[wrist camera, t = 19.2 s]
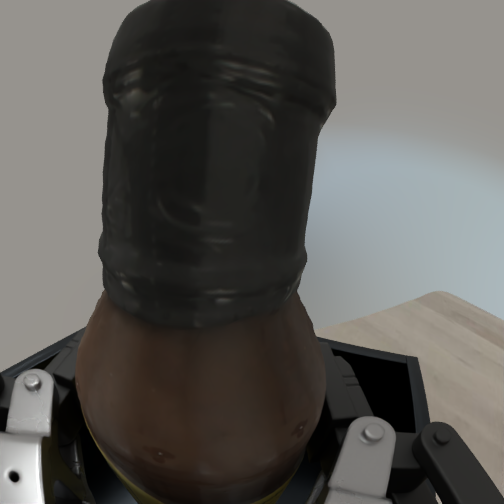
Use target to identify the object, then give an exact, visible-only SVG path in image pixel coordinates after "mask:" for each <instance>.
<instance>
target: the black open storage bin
mask: <svg viewBox="0 0 504 504" xmlns="http://www.w3.org/2000/svg"><path fill="white" fill-rule="evenodd" d="M86 327H87V326H86ZM86 327H84V328H86ZM84 328H82V329H81V330H83V329H84ZM81 330H79V331H81ZM79 331H77V332H75V333H73V334H71V335H69V336H67V337H66V338H64V339H62V340H60V341H58V342H56V343H54V344H52V345H50V346H49V347H47V348H45V349H43V350H41V351H39V352H37V353H36V354H34V355H32V356H30V357H28V358H26V359H25V360H23V361H21V362H19V363H17V364H15V365H13V366H12V367H10V368H8V369H6V370H4V371H2V372H1V375H2V376H6V377H12V378H17V377H18V376H19V375H20V374H22V373H23V372H25V371H27V370H31V369H40V370H44V369H45V368H46V367H47V366H48V365H49V364H50V362H51V361H52V360H53V359H54V358H55V357H56V356H57V355H58V354H59V352H60V351H61V350H62V349H63V348H64V347H65V348H66V345H67V344H68V343H69V342H70V341H72V338H73V337H74V336H75V335H76V334H77V333H78V332H79ZM317 339H318V341H319V342H327V343H328V344H329V346H330V348H331V350H332V353H333V355H334V356H341V357H342V358H343V359H344V360H345V361H346V362H348V363H349V364H350V365H351V368H352V370H353V372H354V374H355V377H356V378H357V380H358V382H359V386H360V387H361V389H362V391H363V393H364V395H365V397H366V400H367V402H368V404H369V406H370V408H371V411H372V413H373V415H374V417H377V418H380V419H383V420H385V421H386V422H388V423H389V424H390V425H391V426H392V428H393V429H394V431H395V432H401V433H420V432H421V431H422V430H423V428H424V427H425V426H426V425H427V424H429V423H430V417H429V411H428V405H427V399H426V394H425V389H424V384H423V379H422V374H421V370H420V366H419V362H418V358H417V357H413V356H407V355H406V356H405V355H401V354H395V353H390V352H385V351H380V350H375V349H370V348H365V347H360V346H355V345H351V344H346V343H342V342H337V341H333V340H329V339H324V338H320V337H317ZM78 433H79V435H80V438H81V446H82V455H83V462H84V469H85V475H86V480H87V484H88V487H89V489H90V491H91V493H92V495H93V497H94V499H95V502H96V504H138V503H137V502H136V501H135V500H134V498H133V497H132V495H131V494H130V493H129V492H128V490H127V489H126V488H125V486H124V485H123V484H122V482H121V481H120V480H119V478H118V477H117V475H116V474H115V473H114V472H113V470H112V469H111V468H110V467H109V465H108V463H107V461H106V459H105V458H104V456H103V454H102V453H101V451H100V450H99V448H98V447H97V445H96V443H95V441H94V439H93V437H92V436H91V434H90V431H89V429H87V428H85V427H81V429H80V431H79V432H78ZM321 470H322V468H321V463H320V462H314V463H309V459H308V454H307V448H306V450H305V454H304V457H303V459H302V461H301V463H300V465H299V467H298V469H297V471H296V472H295V474H294V476H293V477H292V479H291V481H290V482H289V484H288V485H287V487H286V488H285V490H284V491H283V493H282V494H281V496H280V497H279V499H278V500H277V502H276V503H275V504H305V502H306V500H307V498H308V496H309V494H310V492H311V490H312V488H313V486H314V484H315V481H316V479H317V477H318V475H319V473H320V472H321ZM426 483H427V485H428V486H429V488H430V490H431V492H432V493H433V495H434V497H435V499H436V491H435V489H434V488H433V486H432V484H431V482H430V481H429V479H427V480H426Z"/></svg>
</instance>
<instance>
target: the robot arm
mask: <svg viewBox="0 0 504 504" xmlns="http://www.w3.org/2000/svg"><path fill="white" fill-rule="evenodd" d="M85 330H86V328H84V329H83V330H81V331H79V332H78V333H77V334H76V335H75V336H74V337H73V338H72V341H70V342H69V343H68V344H67V345H66V348H65V347H64V348H63V349H62V350H61V351H60V352H59V354H58V355H57V356H56V357H55V358H54V359H53V360H52V361H51V362H50V364H49V365H48V366H47V367H46V368H45V369H44V370H40V369H31V370H27V371H25V372H23V373H22V374H20V375H19V376H18V377H17V378H12V377H6V376H2V375H1V373H0V504H96V502H95V499H94V497H93V495H92V493H91V491H90V489H89V487H88V484H87V480H86V475H85V469H84V462H83V455H82V446H81V438H80V435H79V433H78V432H79V431H80V429H81V427H85V428H87V429H88V427H87V424H86V422H85V419H84V416H83V412H82V408H81V404H80V400H79V397H78V393H77V388H76V379H75V366H76V360H77V352H78V347H79V344H80V342H81V338H82V337H83V335H84V333H85ZM319 343H320V347H321V352H322V355H323V359H324V363H325V371H326V391H325V399H324V404H323V408H322V412H321V416H320V419H319V422H318V424H317V426H316V428H315V430H314V432H313V433H312V436H311V438H310V439H309V441H308V443H307V446H306V448H307V454H308V459H309V463H314V462H320V463H321V468H322V470H321V472H320V473H319V475H318V477H317V479H316V481H315V484H314V486H313V488H312V490H311V492H310V494H309V496H308V498H307V500H306V502H305V504H438V502H437V500H436V499H435V497H434V495H433V493H432V492H431V490H430V488H429V486H428V485H427V483H426V480H427V479H429V481H430V482H431V484H432V486H433V488H434V489H435V491H436V493H437V494H438V496H439V498H440V500H441V502H442V504H504V498H503V496H502V495H501V493H500V492H499V490H498V489H497V487H496V486H495V484H494V483H493V481H492V480H491V478H490V477H489V476H488V474H487V473H486V471H485V470H484V468H483V467H482V466H481V464H480V463H479V461H478V460H477V459H476V457H475V456H474V455H473V453H472V452H471V451H470V449H469V448H468V447H467V445H466V444H465V443H464V441H463V440H462V439H461V437H460V436H459V435H458V433H457V432H456V431H455V430H454V428H452V427H451V426H450V425H448V424H446V423H443V422H432V423H429V424H427V425H426V426H425V427H424V428H423V430H422V431H421V432H420V433H401V432H395V431H394V429H393V428H392V426H391V425H390V424H389V423H388V422H386V421H385V420H383V419H380V418H377V417H374V415H373V413H372V411H371V408H370V406H369V404H368V402H367V400H366V397H365V395H364V393H363V391H362V389H361V387H360V386H359V382H358V380H357V378H356V377H355V374H354V372H353V370H352V368H351V365H350V364H349V363H348V362H346V361H345V360H344V359H343V358H342V357H341V356H334V355H333V353H332V350H331V348H330V346H329V344H328V343H327V342H319Z"/></svg>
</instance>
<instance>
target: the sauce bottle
mask: <svg viewBox="0 0 504 504" xmlns="http://www.w3.org/2000/svg"><path fill="white" fill-rule="evenodd" d="M103 93H104V99H105V103H106V105H107V107H108V109H109V111H108V112H109V113H108V114H109V115H108V122H107V137H106V141H105V158H104V167H103V192H102V204H103V208H102V222H103V232H102V234H101V237H100V239H99V249H98V254H99V257H100V259H101V261H102V264H103V286H104V288H105V290H104V291H103V292H102V296H101V298H100V299H99V300H98V302H97V305H96V308H95V310H94V312H93V314H92V316H91V317H90V320H89V322H88V324H87V327H86V330H85V333H84V335H83V337H82V338H81V342H80V344H79V347H78V352H77V360H76V366H75V379H76V388H77V393H78V397H79V400H80V404H81V408H82V412H83V416H84V419H85V422H86V424H87V427H88V429H89V431H90V434H91V436H92V437H93V439H94V441H95V443H96V445H97V447H98V448H99V450H100V451H101V453H102V454H103V456H104V458H105V459H106V461H107V463H108V465H109V467H110V468H111V469H112V470H113V472H114V473H115V474H116V475H117V477H118V478H119V480H120V481H121V482H122V484H123V485H124V486H125V488H126V489H127V490H128V492H129V493H130V494H131V495H132V497H133V498H134V500H135V501H136V502H137V503H138V504H275V503H276V502H277V500H278V499H279V497H280V496H281V494H282V493H283V491H284V490H285V488H286V487H287V485H288V484H289V482H290V481H291V479H292V477H293V476H294V474H295V472H296V471H297V469H298V467H299V465H300V463H301V461H302V459H303V457H304V454H305V450H306V446H307V443H308V441H309V439H310V438H311V436H312V433H313V432H314V430H315V428H316V426H317V424H318V422H319V419H320V416H321V412H322V408H323V404H324V399H325V391H326V371H325V363H324V359H323V355H322V352H321V347H320V343H319V341H318V339H317V337H316V335H315V333H314V330H313V323H312V321H311V319H310V318H309V316H308V314H307V312H306V309H305V307H304V306H303V304H302V302H301V300H300V297H299V295H298V293H297V289H298V287H299V284H300V280H301V275H302V273H303V270H304V267H305V265H306V262H307V253H306V250H305V246H304V243H305V231H306V225H307V219H308V210H309V205H310V199H311V194H312V183H313V175H314V167H315V159H316V151H317V141H318V136H319V133H320V131H321V129H322V127H323V125H324V124H325V122H326V120H327V119H328V117H329V116H330V114H331V112H332V110H333V109H334V108H335V106H336V89H335V59H334V47H333V41H332V39H331V36H330V34H329V32H328V31H327V30H326V29H325V28H324V26H322V24H321V23H320V22H319V21H318V20H317V19H316V18H315V17H313V16H312V15H311V14H309V13H308V12H306V11H305V10H303V9H302V8H301V7H299V6H297V5H296V4H295V3H293V2H291V1H288V0H150V1H148V2H146V3H144V4H142V5H140V6H138V7H137V8H135V9H134V10H133V11H132V12H130V13H129V14H128V15H127V16H126V18H125V19H124V21H123V22H122V25H121V26H120V28H119V30H118V32H117V34H116V36H115V38H114V40H113V43H112V47H111V50H110V52H109V57H108V61H107V63H106V68H105V74H104V76H103Z"/></svg>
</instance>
